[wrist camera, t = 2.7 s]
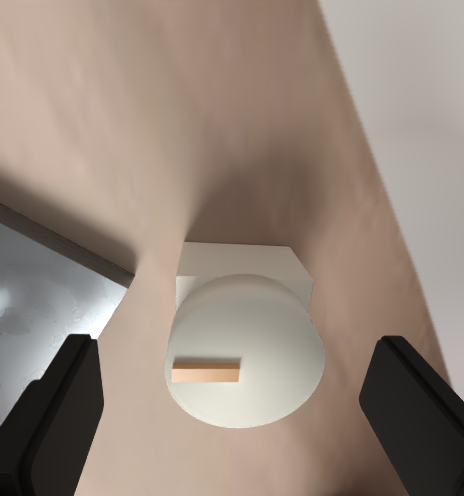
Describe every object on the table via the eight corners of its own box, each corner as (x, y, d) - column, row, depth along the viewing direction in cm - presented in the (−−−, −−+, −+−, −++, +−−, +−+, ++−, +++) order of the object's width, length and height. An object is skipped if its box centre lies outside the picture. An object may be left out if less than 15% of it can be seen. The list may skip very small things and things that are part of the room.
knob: (293, 243, 16) (343, 306, 10) (278, 336, 18) (313, 434, 12) (179, 237, 15) (163, 301, 10) (178, 335, 18) (163, 436, 12)
